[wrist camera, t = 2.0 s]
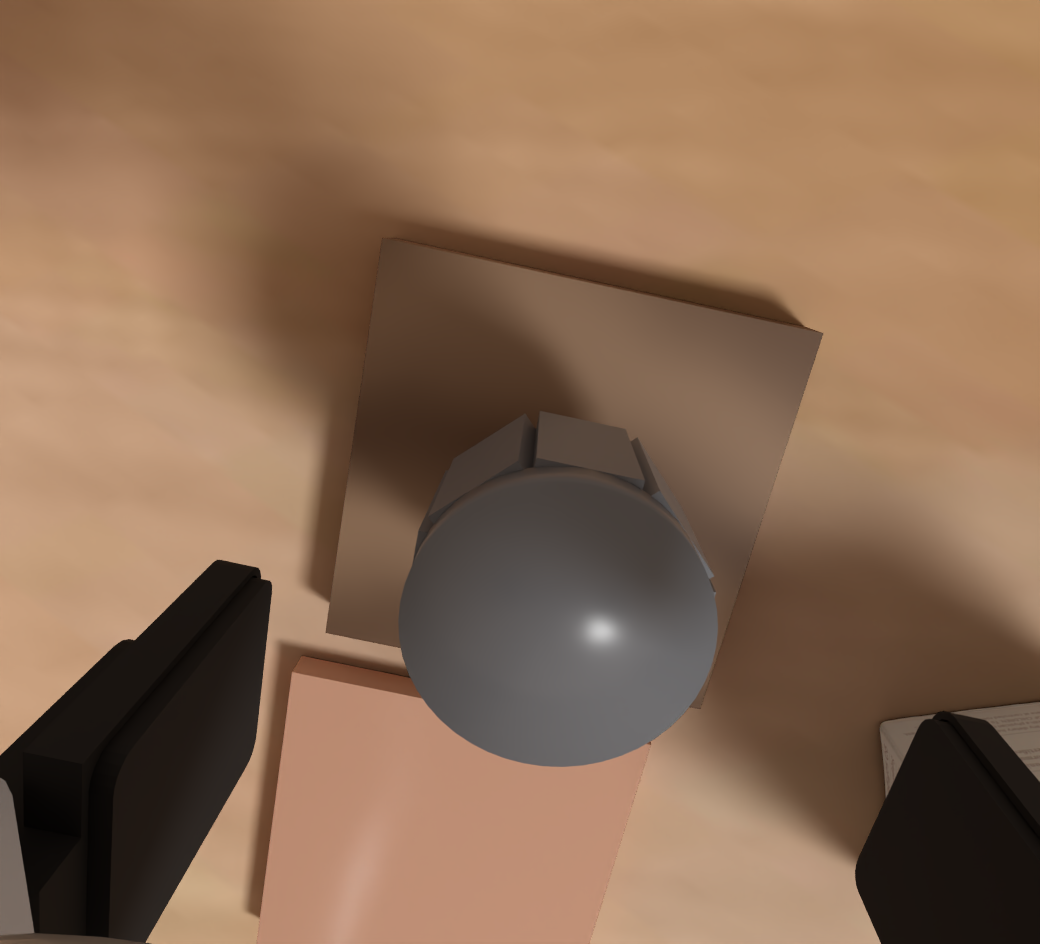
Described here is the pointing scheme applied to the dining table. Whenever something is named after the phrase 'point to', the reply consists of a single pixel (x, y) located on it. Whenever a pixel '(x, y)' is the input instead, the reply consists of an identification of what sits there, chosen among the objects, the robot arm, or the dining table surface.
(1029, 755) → the supplement box
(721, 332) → the post base
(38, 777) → the robot arm
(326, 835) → the tile
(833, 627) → the dining table surface
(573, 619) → the cap
